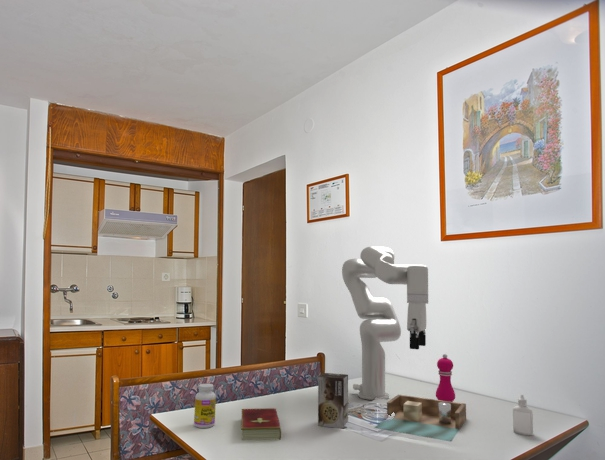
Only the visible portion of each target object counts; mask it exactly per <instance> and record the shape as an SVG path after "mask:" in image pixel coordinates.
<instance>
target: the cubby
mask: <svg viewBox="0 0 605 460" xmlns="http://www.w3.org/2000/svg"><path fill="white" fill-rule="evenodd" d="M407 401H412V402H419V403H422V418H421V419H420V420H419V421H411V420H405V419H404V411H403V404H404V403H405V402H407ZM440 402H446V403H450V404H451V424H442V423H439V407H438V403H440ZM393 412H394V413H395V416H394V418H393V419H392V420H390V421H383V420H382V421H380V423H378V424H377V425H375V426H374V429H379V430H385V431H389V432H396V433H400V434H401V433H402V434H406V435H412V436H417V437H424V438H430V439H435V440H440V441H441V440H442V441H447V442H452V441H453V439H454V438H455V436H456V435H457V433H458V432H459V431H460V429H461V428H462V426H463V424H464V423H465V422H466V420H467V403H462V402H455V401H453V402H449V401H442V400H438V399H435V398H434V399H432V398H426V397H419V396H411V395H406V394H404V395H403V394H397V395H396V396H394V397H393V398H391V399H389V400H388V401H387V402H386V415H387V414H388V415H390V416H391V414H392V413H393Z"/></svg>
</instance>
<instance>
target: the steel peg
mask: <svg viewBox="0 0 605 460" xmlns="http://www.w3.org/2000/svg"><path fill="white" fill-rule="evenodd" d="M438 407H439V423H442V424H451V404H450V403H446V402H440V403H438Z"/></svg>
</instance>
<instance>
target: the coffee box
mask: <svg viewBox="0 0 605 460" xmlns="http://www.w3.org/2000/svg"><path fill="white" fill-rule="evenodd" d="M317 384H318V385H317V395H318V396H317V397H318V398H317V426H318V427H326V428H334V429H335V428H336V429H342V430H343V429H345V428H346V424H348V422H349V374H345V373H344V374H343V373H331V372H322V373H321V374H320V375H319V376H317Z"/></svg>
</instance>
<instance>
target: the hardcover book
mask: <svg viewBox="0 0 605 460" xmlns="http://www.w3.org/2000/svg"><path fill="white" fill-rule="evenodd" d="M240 420H241V422H240V429H241V431H242V432H241V433H242V434H241V435H242V437H241V438H242V441H256V440H257V441H258V440H259V441H261V440H281V438H282V430H281V423H280V420H279V416H278V410H277V408H276V407H272V408H271V407H270V408H266V407H265V408H241V419H240Z"/></svg>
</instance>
